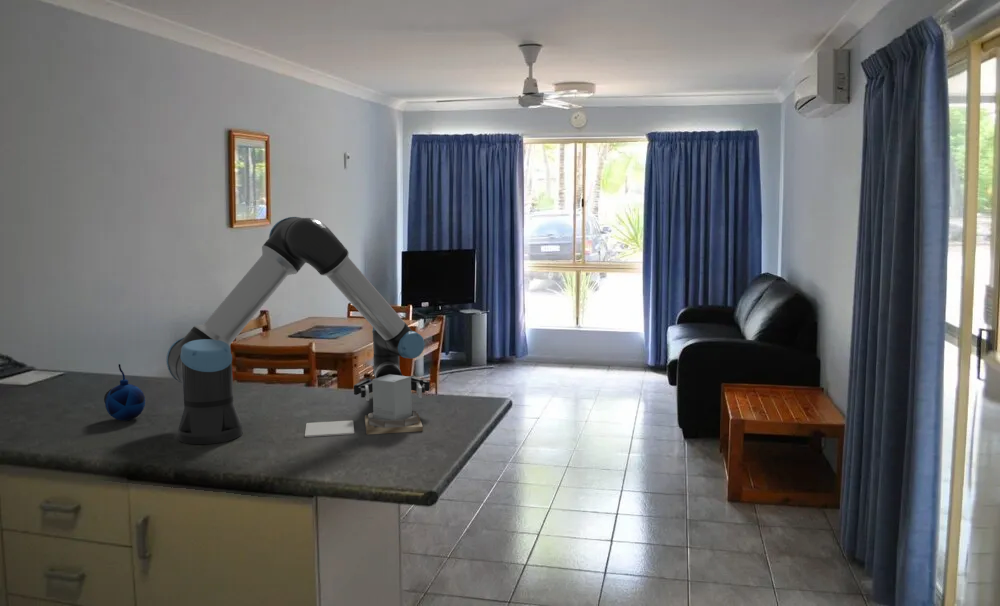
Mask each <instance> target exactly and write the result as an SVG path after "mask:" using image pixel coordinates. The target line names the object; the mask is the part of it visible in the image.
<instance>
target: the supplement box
mask: <svg viewBox="0 0 1000 606" xmlns="http://www.w3.org/2000/svg"><path fill="white" fill-rule="evenodd" d="M371 381H372V388H373V392H372V411H373V412H372V413H373V415H374V418H376V419H381V420H400V419H405V418H408V417H411V416H412V411H413V403H412V401H413V400H412V390H411V377H410V376H408V375H407V376H405V375H402V376H399V375H391V374H389V375H385V376H382V377H379V378H375V377H374V378H373V379H371ZM374 427H377V426H374Z"/></svg>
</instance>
